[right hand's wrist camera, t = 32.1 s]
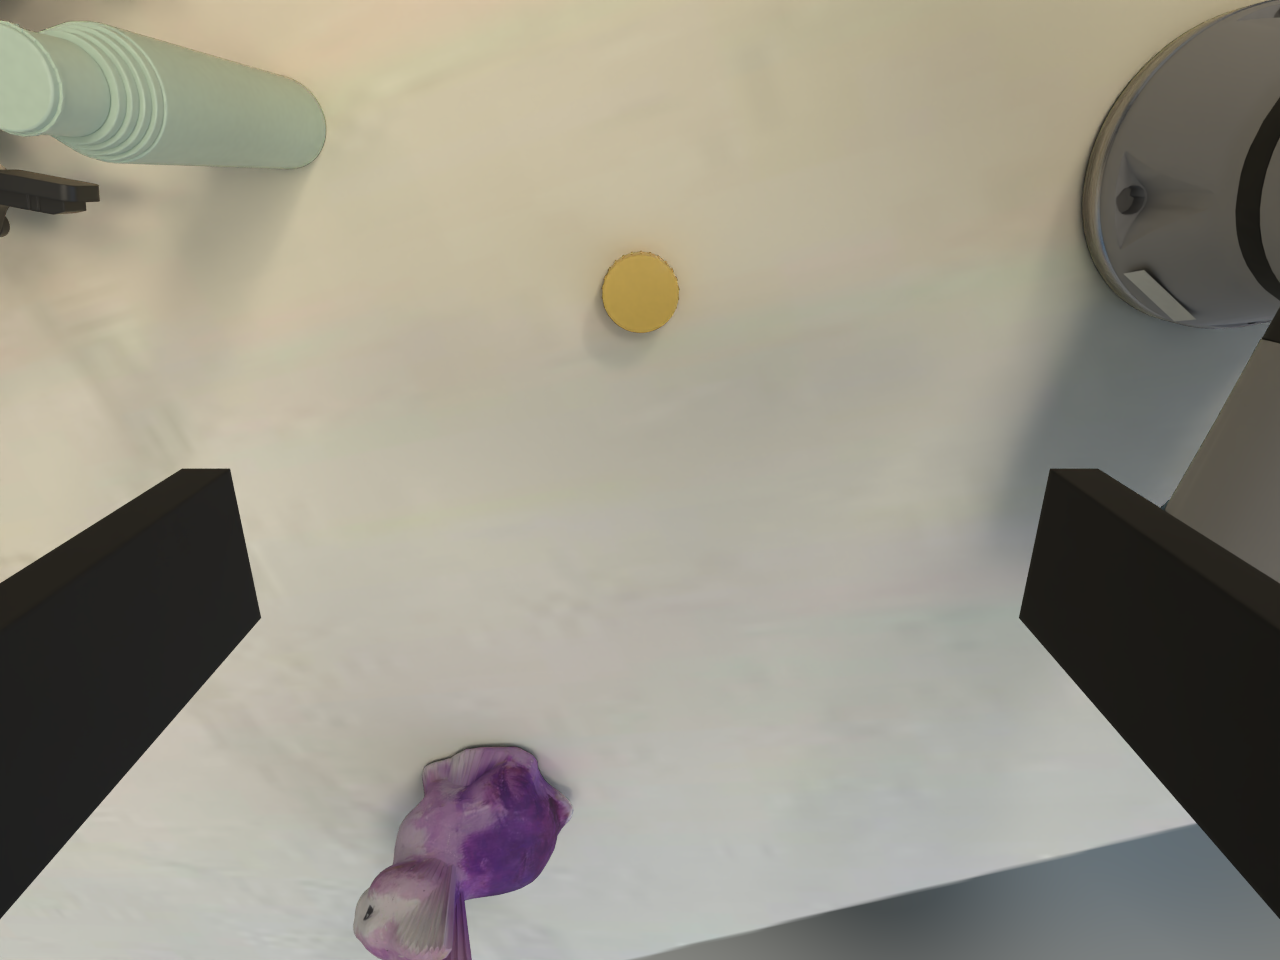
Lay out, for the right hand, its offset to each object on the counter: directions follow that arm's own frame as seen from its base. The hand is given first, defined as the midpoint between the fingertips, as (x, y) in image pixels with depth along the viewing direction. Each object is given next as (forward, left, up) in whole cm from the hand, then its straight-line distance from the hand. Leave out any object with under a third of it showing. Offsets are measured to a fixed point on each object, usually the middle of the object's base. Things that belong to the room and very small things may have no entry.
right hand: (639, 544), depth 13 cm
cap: (0, 0, -30) cm, 30 cm away
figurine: (+35, +11, -31) cm, 48 cm away
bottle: (+4, -19, -31) cm, 37 cm away
